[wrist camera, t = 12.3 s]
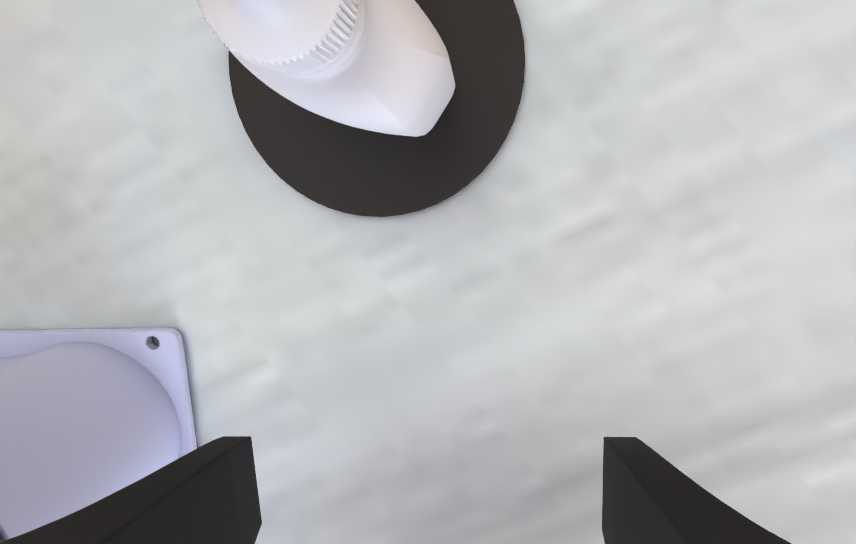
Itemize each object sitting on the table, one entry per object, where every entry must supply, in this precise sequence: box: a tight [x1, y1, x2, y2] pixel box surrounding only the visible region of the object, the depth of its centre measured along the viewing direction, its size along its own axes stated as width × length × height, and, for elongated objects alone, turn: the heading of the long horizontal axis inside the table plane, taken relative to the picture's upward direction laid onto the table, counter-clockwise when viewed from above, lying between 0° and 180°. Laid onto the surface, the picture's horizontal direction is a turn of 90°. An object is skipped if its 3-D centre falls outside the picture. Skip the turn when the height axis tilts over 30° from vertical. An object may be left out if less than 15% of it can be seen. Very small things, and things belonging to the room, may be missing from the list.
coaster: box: [229, 0, 525, 217], centre depth 20 cm, size 10×10×1 cm
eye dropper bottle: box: [197, 0, 455, 137], centre depth 14 cm, size 4×6×12 cm
